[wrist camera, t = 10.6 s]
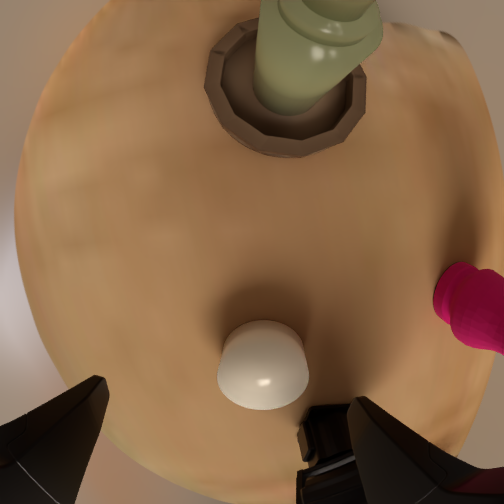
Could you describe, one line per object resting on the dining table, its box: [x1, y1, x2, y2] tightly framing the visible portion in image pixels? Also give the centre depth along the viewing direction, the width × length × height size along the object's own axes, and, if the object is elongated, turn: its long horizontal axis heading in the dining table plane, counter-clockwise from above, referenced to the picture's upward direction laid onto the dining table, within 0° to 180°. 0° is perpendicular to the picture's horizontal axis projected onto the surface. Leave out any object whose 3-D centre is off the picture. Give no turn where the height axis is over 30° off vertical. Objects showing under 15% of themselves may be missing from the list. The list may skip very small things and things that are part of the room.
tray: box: [204, 18, 366, 158], centre depth 16 cm, size 11×11×2 cm
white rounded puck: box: [217, 320, 309, 410], centre depth 21 cm, size 7×7×4 cm
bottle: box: [252, 0, 383, 116], centre depth 9 cm, size 5×5×15 cm
